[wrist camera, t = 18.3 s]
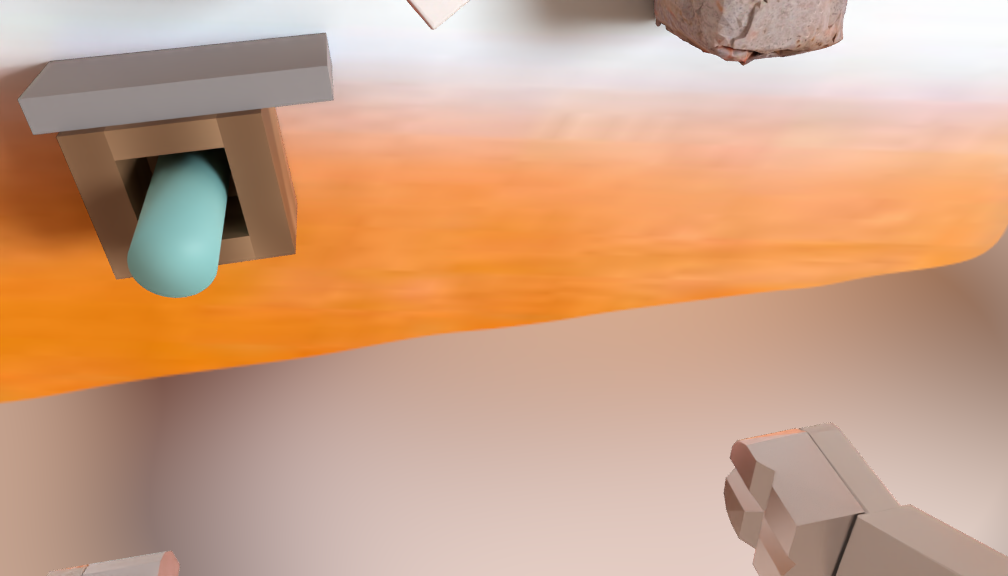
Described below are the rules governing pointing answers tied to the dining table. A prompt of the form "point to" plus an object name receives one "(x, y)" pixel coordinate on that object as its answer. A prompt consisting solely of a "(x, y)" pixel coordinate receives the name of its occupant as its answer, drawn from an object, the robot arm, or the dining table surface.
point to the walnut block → (136, 147)
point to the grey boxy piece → (753, 26)
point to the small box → (436, 10)
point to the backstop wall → (178, 83)
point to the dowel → (181, 223)
